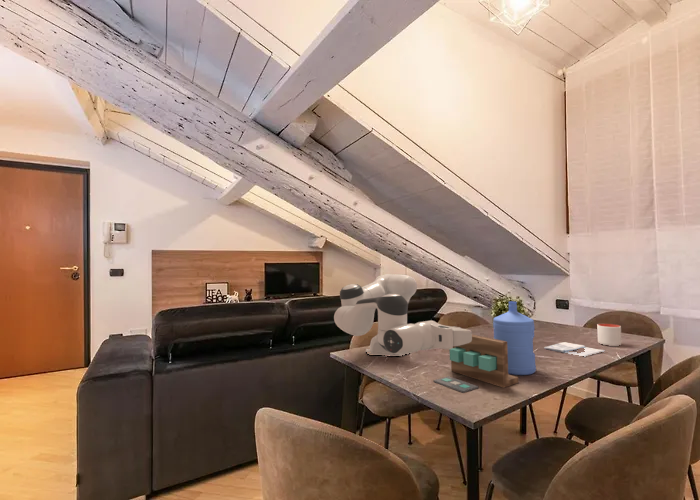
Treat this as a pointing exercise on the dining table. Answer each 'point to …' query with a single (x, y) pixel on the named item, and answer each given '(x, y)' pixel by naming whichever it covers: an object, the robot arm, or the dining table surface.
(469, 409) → the dining table surface
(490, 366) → the button near
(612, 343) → the cup
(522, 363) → the water jug
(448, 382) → the card
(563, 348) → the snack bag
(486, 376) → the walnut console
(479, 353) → the button middle
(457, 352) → the button far
